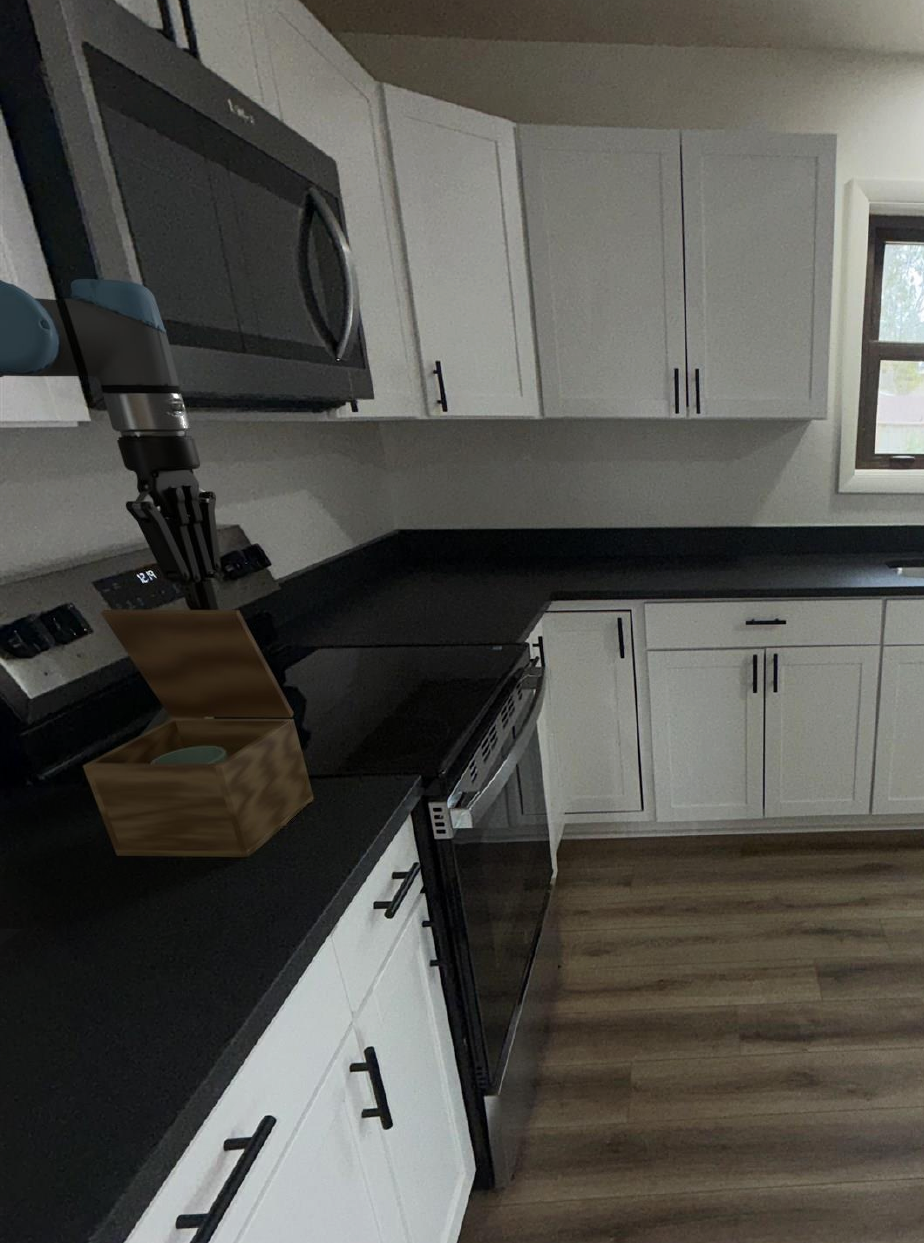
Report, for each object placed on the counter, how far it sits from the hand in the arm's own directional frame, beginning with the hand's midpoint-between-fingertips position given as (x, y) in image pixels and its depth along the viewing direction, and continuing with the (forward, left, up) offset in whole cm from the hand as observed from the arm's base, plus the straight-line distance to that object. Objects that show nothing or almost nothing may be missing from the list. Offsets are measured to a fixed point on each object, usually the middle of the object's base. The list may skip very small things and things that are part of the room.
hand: (210, 630), depth 104 cm
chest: (0, -8, -24) cm, 26 cm away
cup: (0, -10, -23) cm, 26 cm away
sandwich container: (-19, +8, -24) cm, 32 cm away
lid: (0, -4, -4) cm, 5 cm away
